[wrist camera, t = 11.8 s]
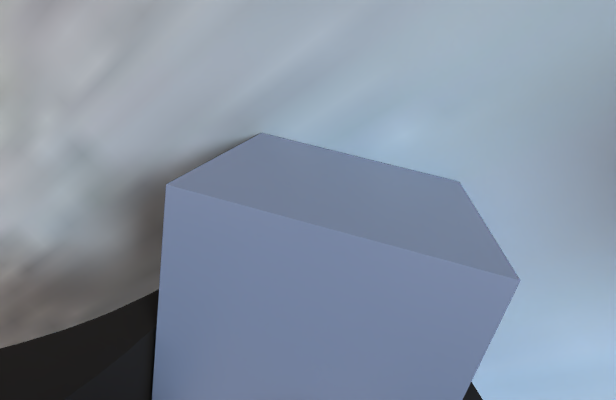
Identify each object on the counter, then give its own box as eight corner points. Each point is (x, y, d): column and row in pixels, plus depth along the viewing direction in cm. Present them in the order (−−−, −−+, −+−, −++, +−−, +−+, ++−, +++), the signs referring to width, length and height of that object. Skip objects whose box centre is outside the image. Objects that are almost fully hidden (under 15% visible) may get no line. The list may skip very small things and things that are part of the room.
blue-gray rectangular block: (377, 402, 14) (371, 586, 9) (226, 354, 14) (145, 501, 9) (459, 181, 10) (520, 280, 6) (261, 132, 11) (166, 183, 6)
